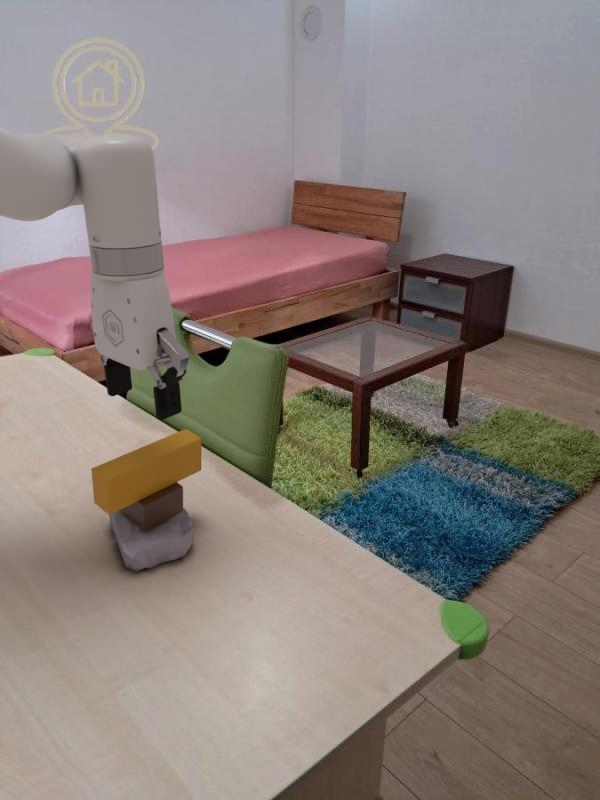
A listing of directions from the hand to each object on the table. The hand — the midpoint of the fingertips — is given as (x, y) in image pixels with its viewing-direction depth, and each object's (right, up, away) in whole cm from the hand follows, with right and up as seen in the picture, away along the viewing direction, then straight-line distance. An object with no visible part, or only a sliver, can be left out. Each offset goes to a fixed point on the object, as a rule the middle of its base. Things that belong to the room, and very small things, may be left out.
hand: (143, 403), depth 75 cm
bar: (0, -10, +5) cm, 11 cm away
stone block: (-1, -18, +8) cm, 20 cm away
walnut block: (-1, -14, +7) cm, 15 cm away
